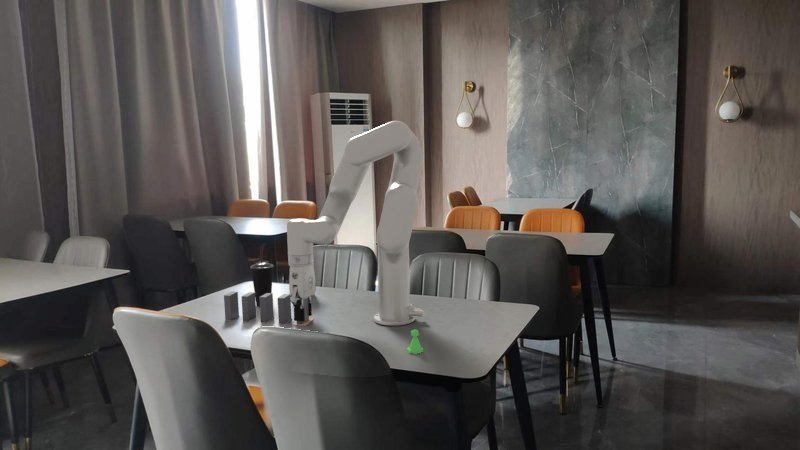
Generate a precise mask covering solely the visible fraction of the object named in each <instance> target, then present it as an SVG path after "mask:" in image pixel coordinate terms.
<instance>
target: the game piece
mask: <svg viewBox="0 0 800 450" xmlns="http://www.w3.org/2000/svg"><path fill="white" fill-rule="evenodd" d="M410 334H411V338H412V339H411V342H410V344H409V346H408V347H406V352H407V351H408V352H409V353H414V354H413V355H418V354H417V353H420V354H422V353H423V352H424V347H422V345H421V343H420V340H419V337H418V336H420V333H419V330H418V329H417V328H416V329H415V328H414V329H412V330H410ZM408 352H407V353H408ZM421 352H422V353H421ZM409 353H408V354H409Z"/></svg>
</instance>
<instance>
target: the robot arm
mask: <svg viewBox="0 0 800 450" xmlns="http://www.w3.org/2000/svg"><path fill="white" fill-rule="evenodd" d="M343 150H344V151H343V154H342V155H341V158H340V159H339V163H338V165H337V167H336V169H335V171H334V174H333V177H332V178H331V181H330V184H329V189H328V194H327V198H326V199H325V203H324V204H323V207H322V209H321V211H320V214H319V216H318V218H317V219H316V220H311V219H309V218H291V219H289V220H288V221H287V223H286V235H287V236H286V240H287V259H288V261H287V262H288V266H289V278H288V282H289V285H288V286H289V289H288V290H289V294H290V297H291V305H292V308H293V320H294V321H295V322H297V321H304V320H305V312H304V308H303V301H304V299H306V298H308V302H309V304H308V306H309V317H311V316H312V314H313V313H312V312H313V311H312V301H313V299H312V297H313V295H312V294H314V293H316V291H317V286H316V285H317V284H316V274H315V266H313V265H314V244H318V245H328V244H330V243H333V242H334V240H335V239H336V238H337V235H338V234H339V231H340V230H341V227H342V225H343V222H344V220H345V218H346V216H347V213H348V212H349V210H350V207H351V205H352V203H353V202H354V200H355V199H356V197H357V195H358V192H359V190H360V188H361V186H362V183H363V181H364V179H365V176H366V174H367V172H368V170H369V168H370V165H371V163H373V162H376V161H378V160H381V159H383V158H386V157H388V156H390V155H393V164H392V168H391V169H392V170H391V176H390V179H389V183H388V186H387V190H386V191H385V194H384V201H383V205H382V209H381V215H380V219H379V220H380V221H379V223H378V226H377V230H376V242H377V244H376V245H377V246H376V247H377V248H376V249H377V287H378V288H377V290H378V291H377V293H378V313H375V314H374V316H373V321H374V322H375V323H376V324H378V325H383V326H389V327H390V326H392V327H393V326H394V327H395V326H403V325H408V324H412V323H413V322H414V321H415V320H416V317H419V318H420V317H421V318H422V317H424V315H425V313H424V312H425V311H424V310H423V309H421V308H415V307H413V304H412V303H411V302H410V299H411V297H410V293H411V292H410V290H411V289H410V241H411V240H410V239H411V236H412V231H413V227H414V223H415V217H416V214H417V210H418V204H419V201H418V193H417V192H418V187H419V184H420V177H421V173H422V172H421V171H422V167H423V159H424V158H423V155H424V154H423V149H422V146H421V143H420V141H419V139H418V137H417V136H416V134H415V133H414V132H413V131H412V130H411V129H410V127H409V125H408V124H406V123H405V122H404V121H401V120H392V121H388V122H386V123H385V124H382V125H380V126H377V127H375V128H373V129H371V130H369V131H366V132H363V133H362V134H359V135H356V136H353V137H351V138H350V139H349V140H347V142H346V143H345V146H344V149H343ZM297 296H300V298H297ZM297 300H300V302H299V301H297Z"/></svg>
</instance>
